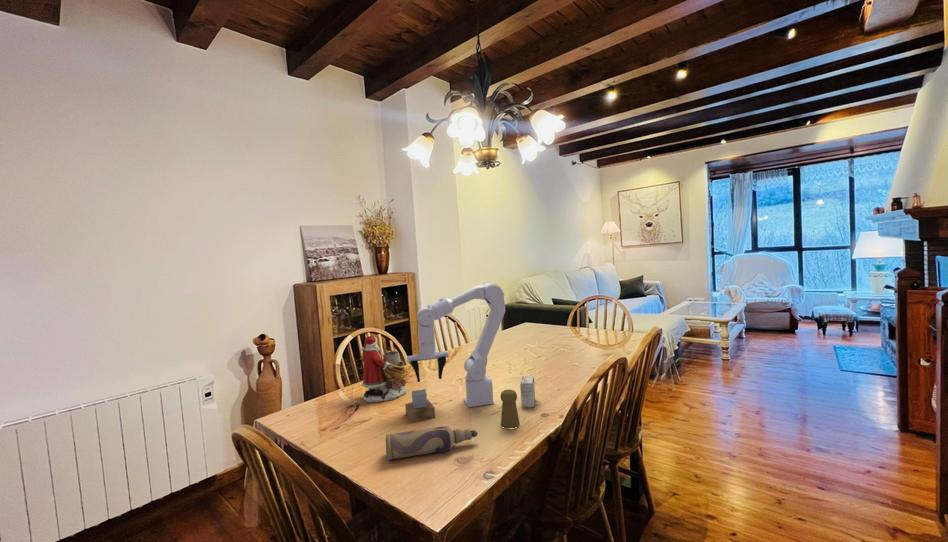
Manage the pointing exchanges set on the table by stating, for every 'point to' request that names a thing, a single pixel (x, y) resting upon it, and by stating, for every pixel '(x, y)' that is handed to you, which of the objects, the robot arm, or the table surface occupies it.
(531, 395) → the medicine box
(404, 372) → the magic lamp
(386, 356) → the santa figurine
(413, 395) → the slate cube
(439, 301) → the robot arm
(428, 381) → the table surface
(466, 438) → the decorative bottle
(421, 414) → the walnut block
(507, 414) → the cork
